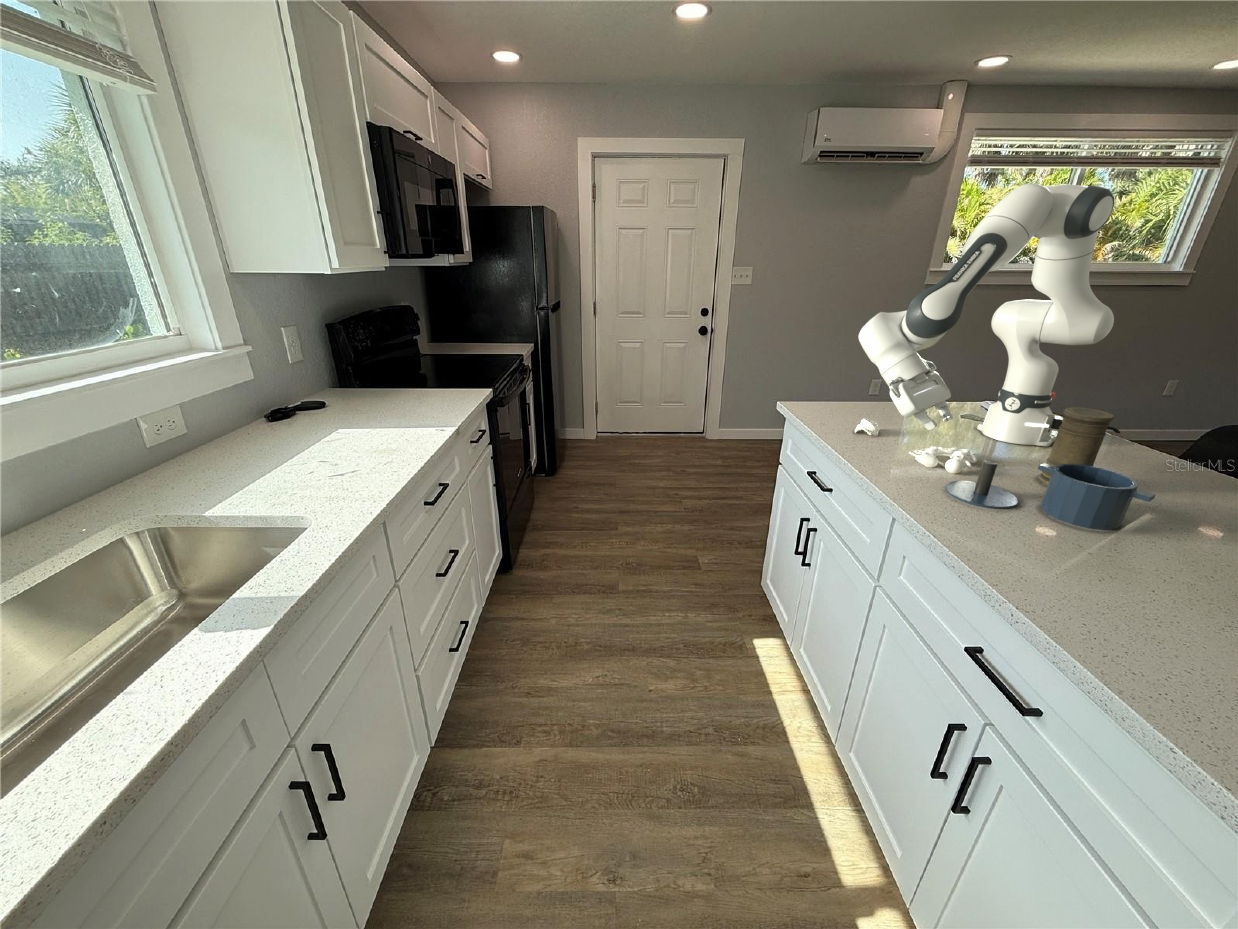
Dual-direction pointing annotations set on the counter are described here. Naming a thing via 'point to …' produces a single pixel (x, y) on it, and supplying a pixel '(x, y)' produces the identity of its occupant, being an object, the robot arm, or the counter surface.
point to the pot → (1089, 495)
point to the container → (1078, 438)
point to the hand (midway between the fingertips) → (941, 424)
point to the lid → (982, 490)
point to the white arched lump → (868, 426)
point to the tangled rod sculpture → (951, 465)
